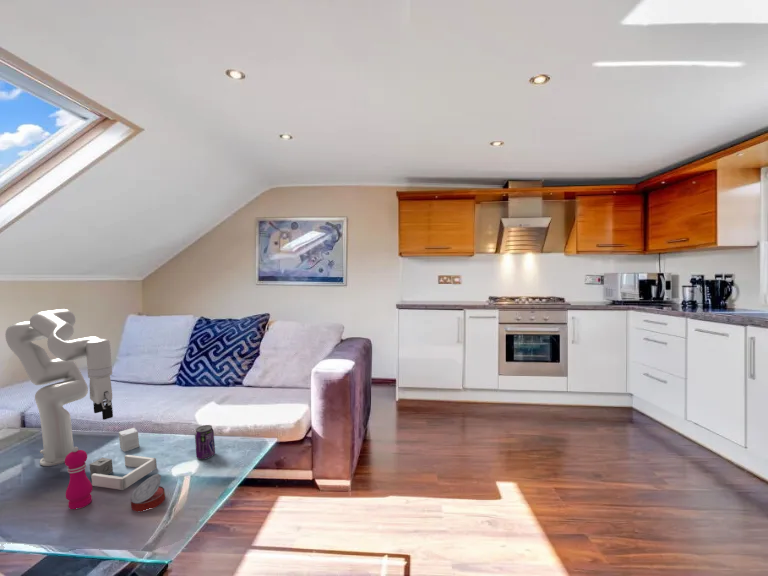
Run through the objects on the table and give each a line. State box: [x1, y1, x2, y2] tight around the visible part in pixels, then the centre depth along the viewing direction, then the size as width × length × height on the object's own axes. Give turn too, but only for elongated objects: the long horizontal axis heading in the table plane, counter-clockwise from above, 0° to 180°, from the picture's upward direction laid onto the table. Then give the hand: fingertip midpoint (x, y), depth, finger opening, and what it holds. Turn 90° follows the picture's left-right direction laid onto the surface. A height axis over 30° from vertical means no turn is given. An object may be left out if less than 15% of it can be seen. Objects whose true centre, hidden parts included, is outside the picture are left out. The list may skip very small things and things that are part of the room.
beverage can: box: [194, 424, 216, 460], centre depth 164 cm, size 7×7×12 cm
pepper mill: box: [64, 446, 93, 510], centre depth 133 cm, size 7×7×20 cm
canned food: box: [130, 473, 166, 513], centre depth 134 cm, size 11×10×10 cm
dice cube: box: [89, 457, 114, 476], centre depth 153 cm, size 5×5×5 cm
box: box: [90, 454, 158, 491], centre depth 150 cm, size 14×15×4 cm
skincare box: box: [118, 427, 140, 453], centre depth 174 cm, size 6×6×7 cm
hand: (103, 415), depth 153 cm, fingers open, 9 cm apart
